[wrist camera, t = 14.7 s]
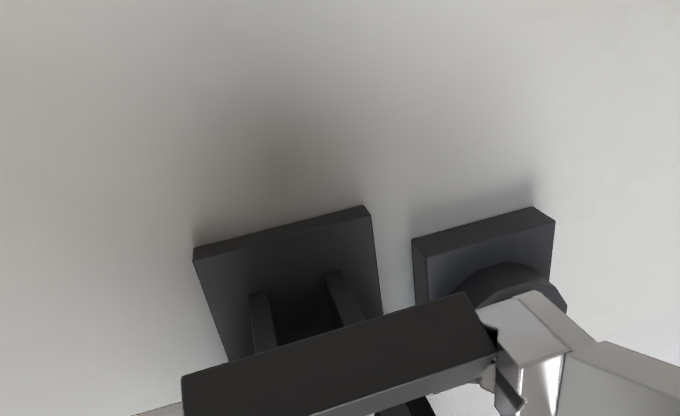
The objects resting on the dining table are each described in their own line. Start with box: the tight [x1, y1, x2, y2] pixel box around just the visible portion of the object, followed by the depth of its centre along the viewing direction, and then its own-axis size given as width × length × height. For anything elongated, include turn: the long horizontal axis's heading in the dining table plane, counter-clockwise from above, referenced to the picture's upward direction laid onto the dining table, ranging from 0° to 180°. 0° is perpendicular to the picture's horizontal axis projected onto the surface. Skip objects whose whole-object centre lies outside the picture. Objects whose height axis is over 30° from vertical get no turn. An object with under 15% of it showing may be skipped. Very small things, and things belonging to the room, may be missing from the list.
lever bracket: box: [192, 206, 411, 416], centre depth 19 cm, size 10×9×12 cm
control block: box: [412, 207, 567, 394], centre depth 26 cm, size 11×8×4 cm
